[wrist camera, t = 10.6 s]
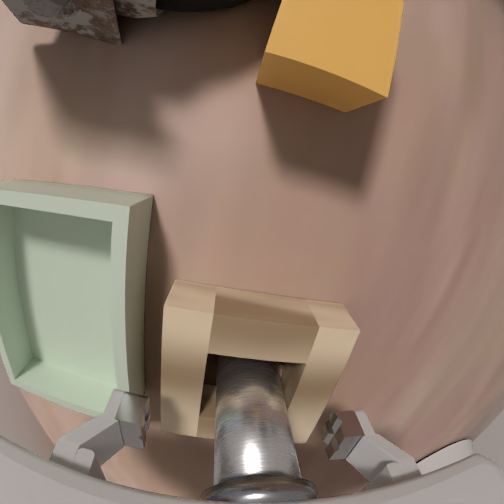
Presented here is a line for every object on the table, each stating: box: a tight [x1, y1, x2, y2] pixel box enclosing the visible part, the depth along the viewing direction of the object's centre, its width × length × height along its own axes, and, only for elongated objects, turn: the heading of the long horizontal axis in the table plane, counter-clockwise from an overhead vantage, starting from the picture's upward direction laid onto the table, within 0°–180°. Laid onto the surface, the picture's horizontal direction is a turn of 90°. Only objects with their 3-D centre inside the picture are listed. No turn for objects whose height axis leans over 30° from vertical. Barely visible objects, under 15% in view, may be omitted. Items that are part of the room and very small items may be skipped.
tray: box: [0, 179, 153, 417], centre depth 11 cm, size 11×8×3 cm
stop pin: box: [201, 355, 319, 503], centre depth 10 cm, size 4×4×9 cm
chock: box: [256, 0, 404, 113], centre depth 8 cm, size 6×4×4 cm, turn 165°
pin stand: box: [161, 279, 360, 443], centre depth 13 cm, size 8×8×2 cm
